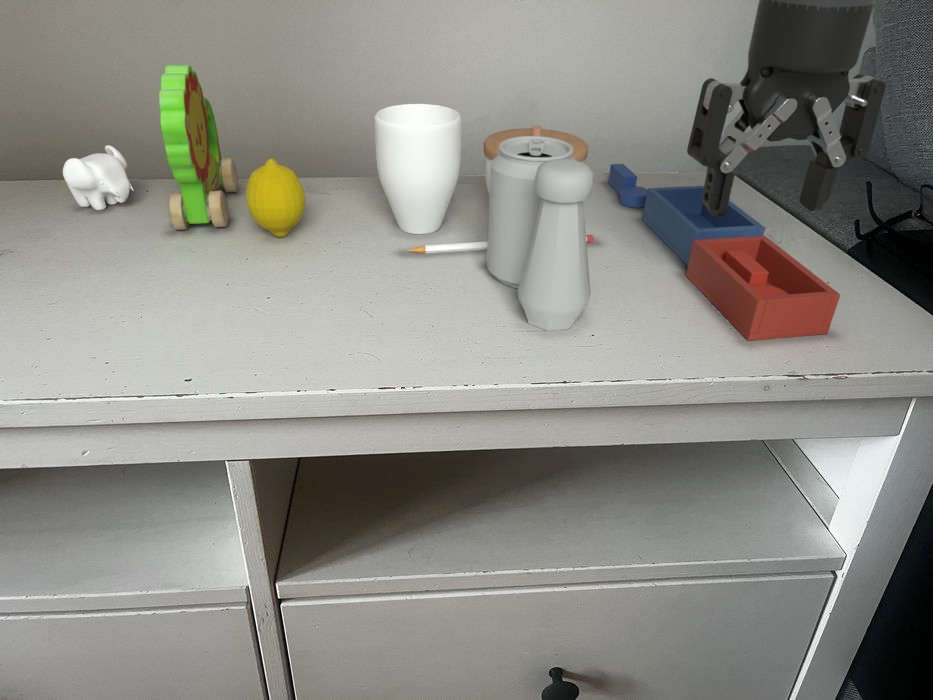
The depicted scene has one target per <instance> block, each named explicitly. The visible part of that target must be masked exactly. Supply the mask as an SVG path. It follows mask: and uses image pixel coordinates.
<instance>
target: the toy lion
mask: <svg viewBox="0 0 933 700" xmlns="http://www.w3.org/2000/svg"><path fill="white" fill-rule="evenodd" d="M158 103H159V111H160V119H159V122H160V130H161V135H162V139H163V143H164V149H165V157H166V161H167V163H168V165H169V168H170V169H171V173H172V176H173V179H174V181H175V182H176V183H179V188H180V192H174V193H170V195H169V198H168V199H169V200H168V211H169V212H168V213H169V218H170V221H171V224H172V228H173V229H175V230H176V231H178V230H180V231H181V230H188V229H189V228H190V224H192V225H193V224H194V225H195V224H196V225H199V224H209V223H210V222H212V225H213V227H214V228H226V227H228V225H229V208H228V203H227V199H226V196H225V194H224V192H223V190H221V188H222V187H223V189H224V190H225V192H226V193H237V191H238V187H239V178H238V177H239V176H238V171H237V167H236V163H235V161H234V159H233V158H232V157H222V152H221V147H220V140H219V133H218V129H217V128H218V127H217V123H216V118H215V115H214V111H213V108H212V107H213V106H212V105H211V103H210V101H209V99H208V98H206V97H205V96H204V92H203V88H202V85H201V83H200V81H199V76H198V74H197V72H196V70H193V68H192V66H191V65H190V64H167V65H165V67H164V73H162V74H161V77H160V90H159V92H158ZM217 189H220V190H217Z"/></svg>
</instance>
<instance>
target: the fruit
mask: <svg viewBox="0 0 933 700" xmlns="http://www.w3.org/2000/svg"><path fill="white" fill-rule="evenodd" d="M245 202H246V205H247V209H248V212H249V214H250V215H251V217H252V219H253V220H254V221H255V222H256V223H257V224H258V226H260V227H262V228H263V229H265V230H267V231H269V232H270V233H271V234H272V235H273V236H275V237H276V238H284V237H286V236H287V235H288V234H289V232H290V230H291V229H292V228H293V227H295V226H296V225H297V224H298V223H299V221H300V220H301V218H302V216H303V214H304V211H305V208H306V207H305V206H306V194H305V190H304V188H303V185H302V182H301V181H300V179H299V178H298V176H297V174H296V173H295V172H294V171H293V169H290V168H289V167H287V166H285V165H282V164H278V161H277V160H275V159H274V158H272V157H271V156H270V157H269V158H267V160H266V162H265V164H264V165H262V166H259V167H258V168H256V169H255V170H254V171H252V173H251V174H250V176H249V178H248V181H247V184H246V190H245Z"/></svg>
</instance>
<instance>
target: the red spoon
mask: <svg viewBox="0 0 933 700" xmlns="http://www.w3.org/2000/svg"><path fill="white" fill-rule="evenodd" d="M724 262H725V263H726V264H727V265H728V266H729V267H730V268H732V269H733V270H734V271H735V272H736V273H737V274H738V275H739V276H740V277H741V278H742V279H743V280H745V281H746V282H747V283H748V284H749V285H750V286H751V287H752V288H753V289H754V290H755V291H757V292H758V293H759V294H760V295H761V296H762V297H763V296H775V295H788V293H787V292H785V291H784V290H782V289H780V288H777V287H774V286H770V285H766V281H767V278H768V274H769V272H768V271H767V270H766V269H765V268H763V267H762V266H761V265H760V264H759V263H758V262H756V261H755V260H754V259H753V258H752V257H750V256H749V255H748V254H747V253H746V252H745V251H743V250H733V251H727V252H726V256H725V260H724Z"/></svg>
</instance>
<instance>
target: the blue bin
mask: <svg viewBox="0 0 933 700" xmlns="http://www.w3.org/2000/svg"><path fill="white" fill-rule="evenodd" d="M647 189H648V190H647V196H646V202H645V207H643V208H644V209H643V215H642V222H644V224H645V225H647V226H648V228H650V230H652V232H653V233H654V234H655V235H656V236H657V237H658V238H659V239H660V240H661V241H662V242H663V243H664V244H665V245H666V246H667V247H668V248H669V249H670V250H671V251H672V252H673V253H674V254H675V255H676V256H677V258H679V259H680V260H681V261H682V262H683V263H684V264H685V265H686V267H688V264H689V259H690V254H691V250H692V245H693V240H702V239H718V238H734V237H750V236H765V235H764V234H765V231H766V227H765V226H764V225H762V224H761V223H760V222H758V221H757V220H756V219H755V218H753V217H752V216H751V215H749V214H748V213H747V212H746V211H744V210H742V208H740V207H739V206H737V204H735V203H734V202H732V201H731V200H729V202H728V207H727V211H726V214H725V216H718V217H715V216H713V215H712V214H711V213H710V212H709V211H708V210H707V209H706V206H705V205H704V204H703V202H702V194H703V189H704V185H686V186H669V187H668V186H666V187H665V186H664V187H648V188H647Z"/></svg>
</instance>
